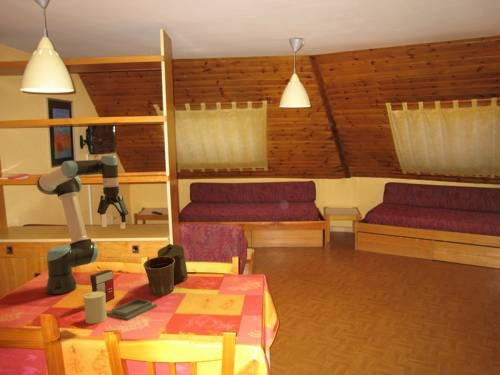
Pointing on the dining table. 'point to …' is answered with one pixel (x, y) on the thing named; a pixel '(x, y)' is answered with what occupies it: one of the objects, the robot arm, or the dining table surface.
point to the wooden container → (176, 261)
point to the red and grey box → (103, 283)
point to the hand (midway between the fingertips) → (113, 227)
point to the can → (95, 307)
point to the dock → (132, 309)
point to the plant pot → (160, 274)
